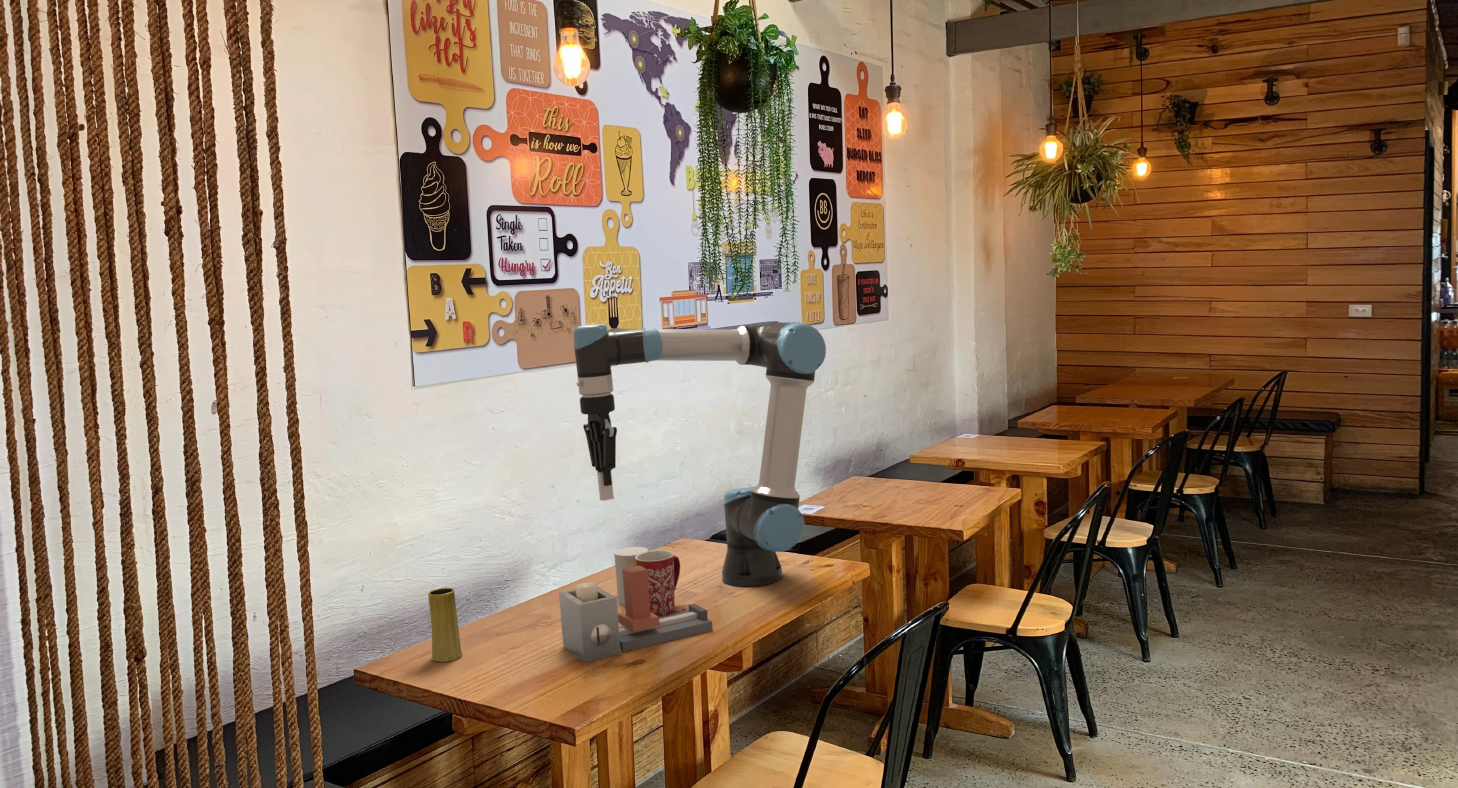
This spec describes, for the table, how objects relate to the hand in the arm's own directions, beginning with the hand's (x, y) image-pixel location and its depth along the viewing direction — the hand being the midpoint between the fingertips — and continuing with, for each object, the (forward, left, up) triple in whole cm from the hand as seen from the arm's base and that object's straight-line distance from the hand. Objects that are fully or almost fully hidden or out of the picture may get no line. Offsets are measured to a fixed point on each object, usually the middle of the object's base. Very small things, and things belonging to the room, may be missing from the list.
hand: (606, 499), depth 238 cm
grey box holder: (+12, +15, -28) cm, 34 cm away
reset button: (+12, +15, -19) cm, 27 cm away
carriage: (+1, +15, -25) cm, 29 cm away
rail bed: (-3, +15, -28) cm, 32 cm away
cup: (-10, -12, -28) cm, 32 cm away
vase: (+38, -1, -28) cm, 47 cm away
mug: (-12, 0, -28) cm, 31 cm away
